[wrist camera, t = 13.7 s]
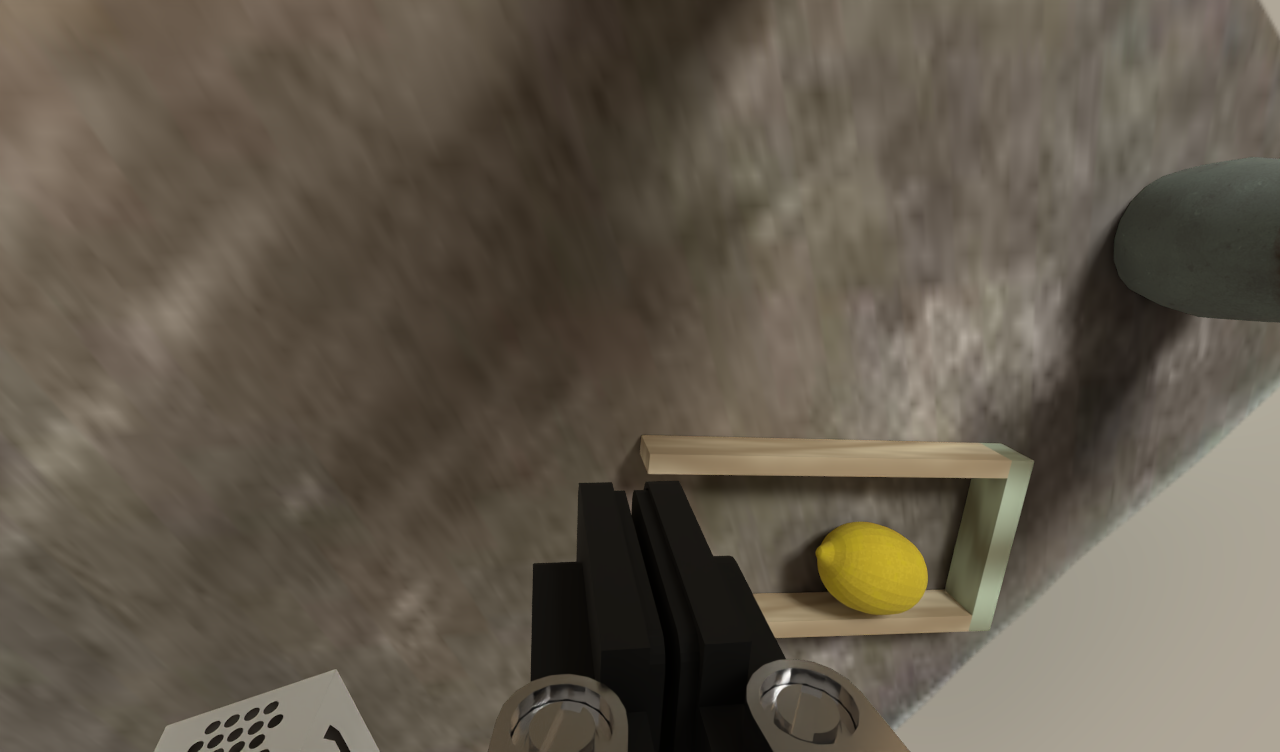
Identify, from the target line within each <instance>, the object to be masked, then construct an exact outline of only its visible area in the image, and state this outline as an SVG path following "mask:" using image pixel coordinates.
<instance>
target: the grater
mask: <svg viewBox="0 0 1280 752" xmlns="http://www.w3.org/2000/svg"><path fill="white" fill-rule="evenodd" d="M274 701H278V702H279V705H278V707H277V708H276V709H275V710H274V711H273V712H272V713H270V714H264V713H263V712H264V709H265V708H266V706H267V705H269V704H270V703H272V702H274ZM254 708H259V709H260V711H259V713H258V715H257V716H256V717H254V718H253V719H251V720H249V721H245V720H244V717H245V715H246V714H247V713H248V712H249V711H250V710H252V709H254ZM235 714H239V715H240V718H239V720H238V721H237V722H236V723H235V724H234V725H233V726H231V727H228V728H225V727H224V723H225V722H226V721H227V720H228V719H229V718H230V717H231V716H233V715H235ZM279 714H282V715H283V719H282V721H281V722H280V723H279V724H278V725H277V726H275V727H273V728H268V727H267V726H268V723H269V721H270V720H271V719H272V718H273V717H274V716H276V715H279ZM215 721H220V722H221V724H220V726H219V727H218V729H216V730H215V731H214V732H212V733H210V734H205V730H206V728H207V727H208V726H209V725H210V724H211V723H213V722H215ZM258 721H263V722H264V725H263V727H262V728H261V729H260V730H259V731H258V732H257V733H255V734H253V735H249V734H248V730H249V728H250V727H251V726H252V725H253V724H254V723H256V722H258ZM330 725H331V726H333V727H334V728H336V729H337V730H338V731H339V732H340V733H341V735H342V737H343V739H344V741H345V743H346V744H347V746H348V748H349V750H350V752H380V751H379V749H378V747H377V745H376V743H375V741H374V739H373V738H372V736H371V734H370V732H369V730H368V728H367V726H366V724H365V722H364V720H363V718H362V717H361V715H360V713H359V711H358V709H357V707H356V705H355V703H354V701H353V699H352V698H351V696H350V694H349V692H348V690H347V688H346V686H345V684H344V682H343V680H342V678H341V677H340V675H339V673H338V671H337V669H334V670H331V671H328V672H326V673H323V674H320V675H317V676H314V677H311V678H308V679H305V680H302V681H299V682H296V683H293V684H290V685H287V686H284V687H281V688H278V689H275V690H272V691H269V692H266V693H263V694H260V695H257V696H254V697H251V698H248V699H245V700H242V701H239V702H236V703H233V704H230V705H227V706H224V707H221V708H218V709H215V710H212V711H209V712H206V713H203V714H200V715H197V716H194V717H191V718H188V719H185V720H182V721H179V722H176V723H173V724H170V725H167V726H166V728H165V730H164V732H163V734H162V736H161V738H160V740H159V742H158V744H157V746H156V748H155V750H154V752H188V750H189V748H190V747H191V746H192V745H194V744H195V743H197V742H199V741H203V742H204V744H203V747H202V748H201V749H200V750H199V751H198V752H214V751H215V750H217V749H219V748H223V749H224V752H229V750H230V749H231V747H232V746H233V745H235V744H236V743H238V742H240V741H244V742H245V746H244V747H243V749H242V750H241V751H240V752H260V751H262V750H264V749H268V750H269V751H270V752H340V750H339V748H338V746H337V744H336V742H335V741H333V740H328V739H324V736H325V734H326V732H327V730H328V728H329V726H330ZM237 728H243V733H242V734H241V736H240V737H239V738H237V739H236V740H234V741H232V742H228V741H227V738H228V736H229V735H230V733H231V732H233V731H234V730H235V729H237ZM220 734H222V735H223V736H224V737H223V740H222V741H221V743H219V744H218V745H217V746H216V747H214V748H211V749H208V748H207V745H208V743H209V742H210V740H211V739H212V738H214V737H215V736H217V735H220ZM261 734H264V735H265V739H264V741H263V743H262V744H260V745H259V746H258V747H256V748H254V749H250V748H249V744H250V742H251V741H252V740H253V739H254V738H255V737H256V736H258V735H261Z"/></svg>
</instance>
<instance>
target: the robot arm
mask: <svg viewBox="0 0 1280 752" xmlns="http://www.w3.org/2000/svg"><path fill="white" fill-rule="evenodd" d="M488 752H910V751H909V750H908V748H907V747H906V746H905V745H904V743H903V742H902V741H901V740H900V738H899V737H898V736H897V735H896V734H895V732H894V731H893V730H892V729H891V727H890V726H889V725H888V724H887V723H886V721H885V720H884V719H883V718H882V716H881V715H880V714H879V713H878V712H877V710H876V709H875V708H874V707H873V705H872V704H871V703H870V702H869V701H868V699H867V698H866V697H865V696H864V694H863V693H862V692H861V691H860V690H859V689H858V688H857V687H856V686H855V685H854V684H853V683H852V682H851V681H850V680H849V679H847V678H846V677H844V676H842V675H841V674H839V673H838V672H836V671H834V670H833V669H831V668H828V667H826V666H823V665H820V664H818V663H815V662H811V661H805V660H799V659H786V658H785V656H784V654H783V652H782V650H781V649H780V647H779V645H778V643H777V641H776V639H775V637H774V635H773V633H772V631H771V629H770V627H769V625H768V623H767V621H766V619H765V617H764V615H763V613H762V611H761V609H760V607H759V605H758V603H757V601H756V599H755V597H754V595H753V594H752V592H751V590H750V588H749V586H748V584H747V582H746V580H745V578H744V576H743V574H742V572H741V570H740V568H739V566H738V564H737V562H736V561H735V559H734V558H733V557H731V556H713V555H712V553H711V550H710V548H709V546H708V544H707V542H706V539H705V537H704V535H703V533H702V531H701V528H700V526H699V524H698V522H697V520H696V517H695V515H694V513H693V511H692V509H691V506H690V504H689V502H688V500H687V498H686V495H685V493H684V491H683V489H682V487H681V485H680V483H679V481H656V482H646V483H645V486H644V490H634V492H633V498H632V515H631V512H630V508H629V504H628V501H627V497H626V493H625V491H614V488H613V484H612V482H607V483H579V490H578V524H577V562H560V563H534V564H533V596H532V645H531V682H530V683H528V684H527V685H525V686H523V687H522V688H520V689H518V690H517V691H516V692H515V693H514V694H513V695H512V696H511V697H510V698H509V699H508V700H507V701H506V702H505V703H504V705H503V707H502V709H501V711H500V713H499V715H498V717H497V719H496V723H495V726H494V730H493V734H492V738H491V741H490V745H489V749H488Z"/></svg>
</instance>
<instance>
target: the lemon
mask: <svg viewBox="0 0 1280 752" xmlns="http://www.w3.org/2000/svg"><path fill="white" fill-rule="evenodd" d="M816 557H817V565H818V572H819V575H820V578H821V580H822V582H823V584H824V585H825V587H826V588H827V590H828V591H829V592H830V594H831V595H832V596H834V597H835V598H836V599H837V600H838V601H840V602H841V603H843V604H844V605H846V606H848V607H850V608H852V609H855V610H858V611H861V612H864V613H868V614H873V615H892V614H899V613H903V612H905V611H907V610H909V609H911V608H912V607H914V606H915V605H916V604H917V603H918V602H919V601H920V599H921V598H922V597H923V595H924V592H925V590H926V587H927V582H928V573H927V567H926V564H925V561H924V559H923V556H922V555H921V553H920V552H919V551H918V549H917V548H916V547H915V546H914V545H913V544H912V543H911V542H910V541H909V540H907V539H906V538H905V537H903V536H902V535H900V534H899V533H897V532H896V531H894V530H892V529H889V528H887V527H884V526H881V525H878V524H874V523H870V522H852V523H846V524H843V525H841V526H839V527H837V528H835V529H834V530H832V531H831V532H830V533H829V534H828V535H827V536H826V537H825V539H824V540H823V542H822V544H821V546H819V547H818V548H817V549H816Z"/></svg>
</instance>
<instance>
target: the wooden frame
mask: <svg viewBox="0 0 1280 752" xmlns="http://www.w3.org/2000/svg"><path fill="white" fill-rule="evenodd" d="M640 455H641V458H642V460H643V462H644V465H645V467H646V470H647V472H648V474H694V475H774V476H854V477H934V478H971V482H970V486H969V490H968V495H967V499H966V503H965V507H964V511H963V516H962V520H961V524H960V528H959V532H958V537H957V541H956V545H955V549H954V553H953V557H952V562H951V566H950V570H949V574H948V578H947V583H946V587H945V589H944V590H925V592H924V595H923V597H922V598H921V599H920V601H919V602H918V603H917V604H916V605H915V606H914V607H912V608H911V609H909V610H907V611H905V612H903V613H899V614H892V615H873V614H868V613H864V612H861V611H858V610H855V609H852V608H850V607H848V606H846V605H844V604H843V603H841V602H840V601H838V600H837V599H836V598H835V597H834V596H832V595H831V594H830V592H806V593H760V594H753V595H754V597H755V599H756V601H757V603H758V605H759V607H760V609H761V611H762V613H763V615H764V617H765V619H766V621H767V623H768V625H769V627H770V629H771V631H772V633H773V635H774V637H775V638H790V637H819V636H848V635H876V634H905V633H934V632H963V631H990V627H991V623H992V619H993V616H994V612H995V608H996V604H997V600H998V597H999V593H1000V589H1001V585H1002V582H1003V578H1004V574H1005V570H1006V567H1007V563H1008V559H1009V555H1010V551H1011V548H1012V544H1013V540H1014V536H1015V533H1016V529H1017V525H1018V521H1019V517H1020V514H1021V510H1022V506H1023V502H1024V499H1025V495H1026V491H1027V487H1028V483H1029V480H1030V476H1031V472H1032V468H1033V465H1034V461H1033V460H1031V459H1029V458H1028V457H1026V456H1024V455H1022V454H1020V453H1018V452H1016V451H1014V450H1013V449H1011V448H1009V447H1007V446H1005V445H1003V444H1001V443H962V442H920V441H877V440H834V439H792V438H749V437H706V436H663V435H641V446H640Z"/></svg>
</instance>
